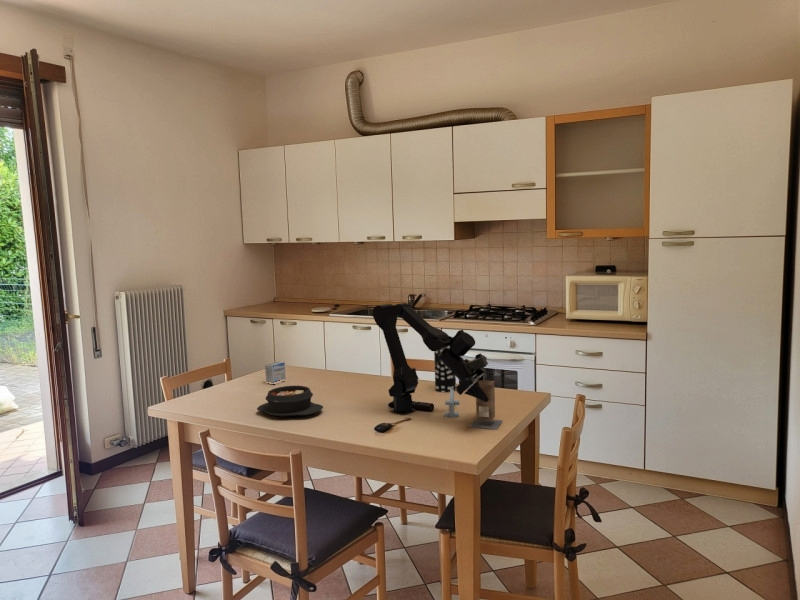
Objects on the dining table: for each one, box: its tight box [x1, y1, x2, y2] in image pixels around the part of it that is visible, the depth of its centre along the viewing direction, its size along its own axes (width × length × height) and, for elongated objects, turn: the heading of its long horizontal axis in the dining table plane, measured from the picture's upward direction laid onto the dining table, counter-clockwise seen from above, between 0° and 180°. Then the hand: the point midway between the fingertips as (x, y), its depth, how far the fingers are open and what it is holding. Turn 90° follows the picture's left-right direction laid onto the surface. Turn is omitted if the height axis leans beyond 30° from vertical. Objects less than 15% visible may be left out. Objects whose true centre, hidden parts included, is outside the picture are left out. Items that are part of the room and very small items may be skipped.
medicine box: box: [264, 361, 287, 383], centre depth 264 cm, size 8×4×9 cm, turn 147°
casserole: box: [256, 385, 324, 417], centre depth 217 cm, size 25×19×8 cm
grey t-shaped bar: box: [443, 389, 460, 418], centre depth 214 cm, size 18×5×5 cm, turn 174°
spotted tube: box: [433, 346, 457, 393], centre depth 241 cm, size 8×8×20 cm
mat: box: [469, 418, 503, 430], centre depth 196 cm, size 9×9×1 cm
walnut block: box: [475, 379, 496, 421], centre depth 196 cm, size 5×5×12 cm
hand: (489, 398), depth 195 cm, fingers closed on walnut block, 5 cm apart
